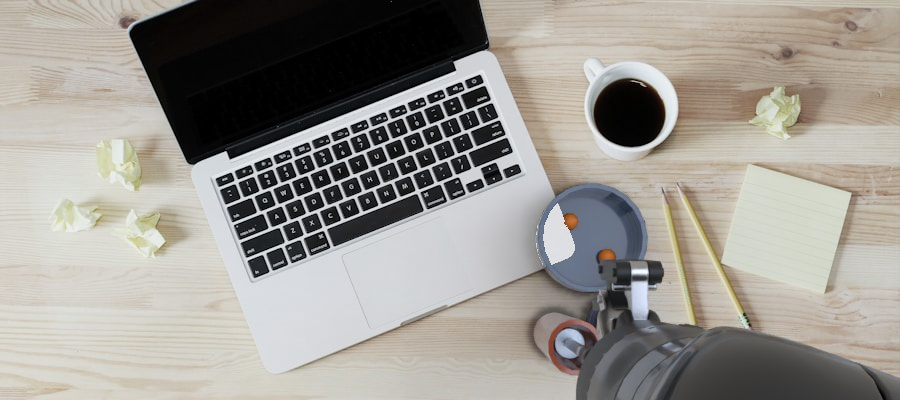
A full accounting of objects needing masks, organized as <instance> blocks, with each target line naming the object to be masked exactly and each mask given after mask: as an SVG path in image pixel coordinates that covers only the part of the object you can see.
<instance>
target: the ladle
mask: <svg viewBox="0 0 900 400" xmlns="http://www.w3.org/2000/svg"><path fill="white" fill-rule="evenodd" d="M592 348H593V346H585V339H584V337H583V335H582V334H581V333H580V332H579V331H578V330H576V329H574V328H570V327H566V328H563V329H562V330H561V331H560V332H559V333H558V334H557V336H556V338H555V341H554V349H555V351H556V352H557V353H558V354H559V355H560V356H561V357H563V358H566V359H574V358H577V357H579V360H580V361H581V363H582V364H583V362H584V360H585V358H586V356H587V354H588V353H589V351H590V350H591V349H592Z"/></svg>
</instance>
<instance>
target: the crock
mask: <svg viewBox="0 0 900 400" xmlns="http://www.w3.org/2000/svg"><path fill="white" fill-rule="evenodd" d="M533 327H534V328H533V339H534V342H535V345H536V346H537V348H538V349H539V350H540V351H541V352H542V353H543V354H544V356H545V357H546V358H547V359H548V360H549V361H550V363H552V364H553V365H554V366H555V367H556V368H557V369H558V371H559V372H561V373H564V374H566V375H569V376H577V377H578V375H579V372H580V369H581V366H582V363H581V361H580V360H579V357H577V358H574V359H566V358H563V357H561V356H560V355H559V354H558V353H557V352H556V351H555V349H554V341H555V338H556V336H557V334H558V333H559V332H560V331H561V330H562V329H563V328H566V327H570V328H574V329H576V330H578V331H579V332H580V333H581V334H582V335H583V337H584V339H585V346H594V345H595V344H596V343H597V342H598V336H597V331H596V328H595V327H594V326H593V325H592V324H590V323H588V322H586V320H582V319H580V318H576V317H574V316H569V315H566V314H565V313H560V312H548V313H546V314H544V315H542V316H541V317H540V318H539V319H537V321H536V323H535V325H534V326H533Z"/></svg>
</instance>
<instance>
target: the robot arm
mask: <svg viewBox="0 0 900 400" xmlns="http://www.w3.org/2000/svg"><path fill="white" fill-rule="evenodd" d="M598 274H600V278H601V280H604V281H607V288H606V289H600V290H599V292H598V294H597V297H596V299H592V306H593V311H598V317H597V329H596V331H597V336H598V342H597V343H596V344H595V345H594V346H593V348H592V349H591V350H590V351H589V353H588V354H587V356H586V358H585V360H584V362H583V364H582V366H581V369H580V372H579V375H578V376H577V378H576V379H577V380H576V388H575V400H900V377H899V376H896V375H893V374H891V373H888V372H885V371H882V370H879V369H876V368H874V367H872V366H868V365H866V364H863V363H860V362H856V361H853V360H851V359H849V358H846V357H844V356H840V355H837V354H834V353H832V352H828V351H826V350H823V349H821V348H817V347H814V346H811V345H808V344H805V343H802V342H799V341H796V340H794V339H793V340H792V339H789V338H786V337H782V336H779V335H775V334H771V333H768V332H763V331H759V330H754V329H749V328H743V327H737V326H727V325H723V326H714V327H713V328H712V327H711V328H709V329H705V328H704V327H703V326H699V325H694V324H691V323H679V324H677V323H676V324H675V323H670V322H665V321H662V320H661V318H660V316H659V315H658V313H656V311H655V310H652V309H650V303H649V302H650V301H649V299H650V298H649V292H655V291H657V290H658V284H659V285H661V284H662V283H663V279H664V277H665V268H664V267H663V265H662V262H661V260H654V259H614V260H600V265H598Z"/></svg>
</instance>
